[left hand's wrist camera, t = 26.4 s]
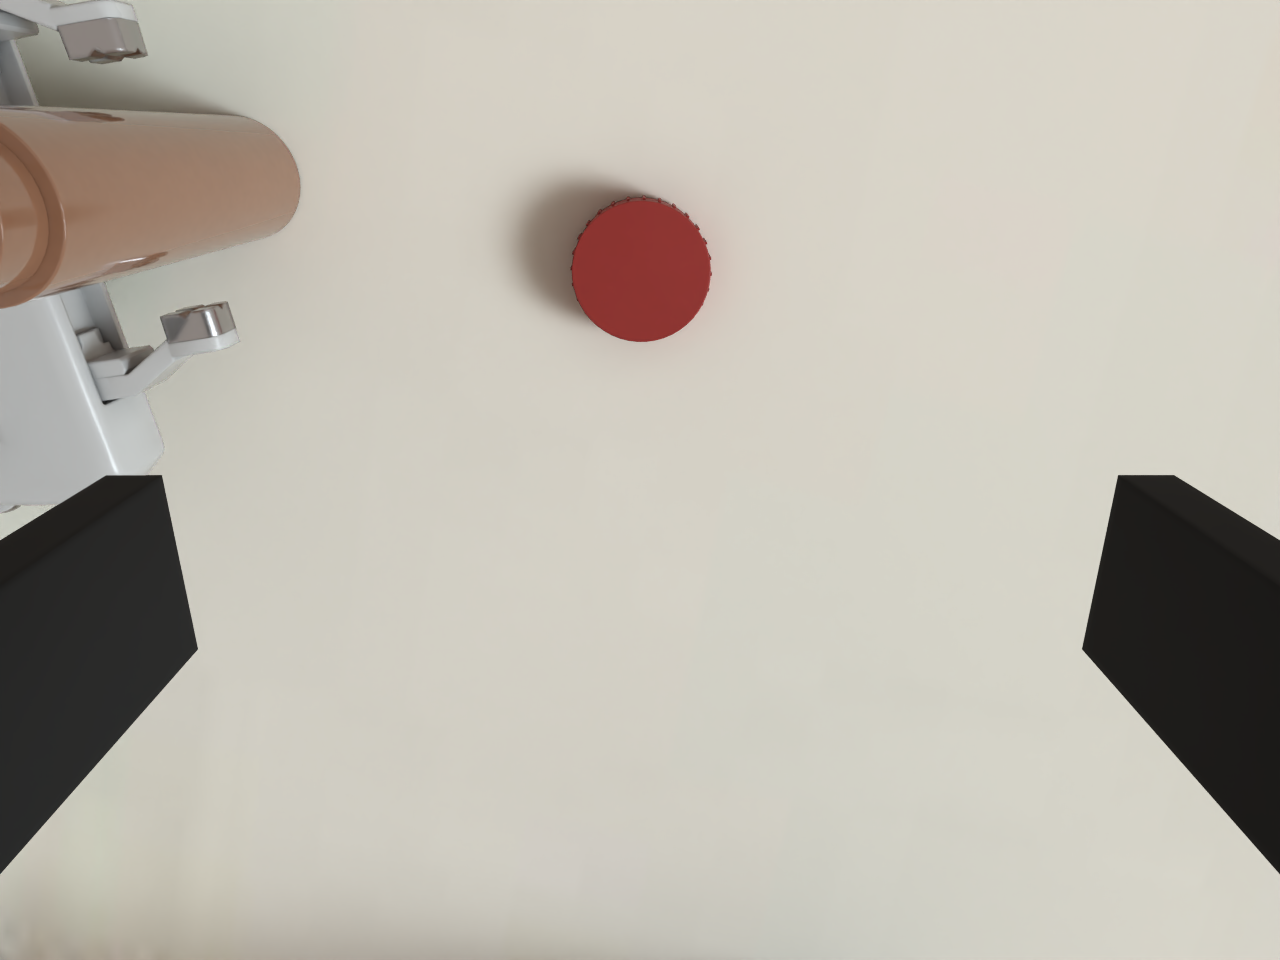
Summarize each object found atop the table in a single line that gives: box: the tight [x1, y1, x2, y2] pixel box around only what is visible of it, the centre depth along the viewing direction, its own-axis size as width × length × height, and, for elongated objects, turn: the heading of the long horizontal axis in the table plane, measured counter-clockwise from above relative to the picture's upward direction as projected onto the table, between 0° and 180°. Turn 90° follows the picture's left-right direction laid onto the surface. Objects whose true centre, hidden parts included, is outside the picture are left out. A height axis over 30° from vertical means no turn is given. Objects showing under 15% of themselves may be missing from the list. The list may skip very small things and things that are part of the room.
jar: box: [0, 104, 300, 309], centre depth 27 cm, size 5×5×17 cm
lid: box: [571, 196, 712, 342], centre depth 35 cm, size 6×6×2 cm
